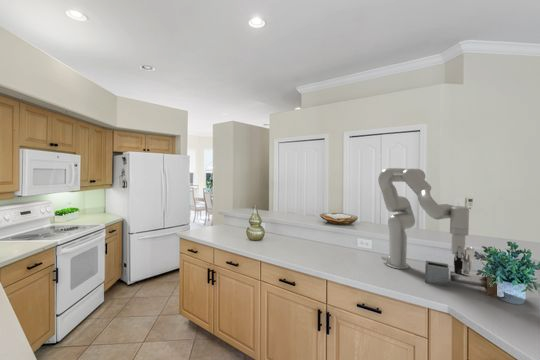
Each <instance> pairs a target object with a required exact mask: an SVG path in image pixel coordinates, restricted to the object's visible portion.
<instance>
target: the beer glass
mask: <svg viewBox="0 0 540 360" xmlns="http://www.w3.org/2000/svg"><path fill="white" fill-rule="evenodd" d="M462 261H463V266H462V273H465V274H471V275H474V274H473V266H474V262H475V249H474V248H472V247H469V246H465V253H464V255H462Z"/></svg>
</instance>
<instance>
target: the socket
mask: <svg viewBox="0 0 540 360" xmlns="http://www.w3.org/2000/svg"><path fill="white" fill-rule="evenodd" d="M484 277H486V276H485V275H484ZM491 281H492V279H491V277H490V276H487V288H484V287H483V289H484V291H485V293H486V295H487V296H490V297H495V298H498V297H497V284H496V283H494V284H493V287H490V284H489V283H490V282H491Z"/></svg>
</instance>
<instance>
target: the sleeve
mask: <svg viewBox="0 0 540 360" xmlns="http://www.w3.org/2000/svg"><path fill="white" fill-rule="evenodd" d="M424 269H425V271H424V272H425V273H424V281H425V282H424V283H425V284H429V285H434V286H440V287H444V288H449V281H450V278H449V277H450V270H449V263H445V262H444V263H443V262H438V261H431V260H425V268H424Z"/></svg>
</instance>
